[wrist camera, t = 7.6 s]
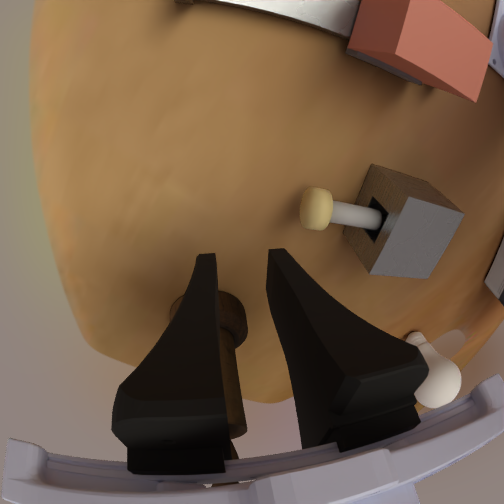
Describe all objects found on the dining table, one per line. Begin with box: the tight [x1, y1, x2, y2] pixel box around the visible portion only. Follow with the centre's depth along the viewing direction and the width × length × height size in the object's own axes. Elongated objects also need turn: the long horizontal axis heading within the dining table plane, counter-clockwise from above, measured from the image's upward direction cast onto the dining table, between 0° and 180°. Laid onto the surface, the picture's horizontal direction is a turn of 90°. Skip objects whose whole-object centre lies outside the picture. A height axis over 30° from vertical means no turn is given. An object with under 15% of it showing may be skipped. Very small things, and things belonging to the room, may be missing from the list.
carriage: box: [346, 0, 493, 103], centre depth 13 cm, size 6×4×6 cm
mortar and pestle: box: [170, 291, 248, 487], centre depth 20 cm, size 7×6×18 cm
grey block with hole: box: [343, 164, 465, 279], centre depth 21 cm, size 6×6×5 cm
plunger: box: [300, 186, 382, 231], centre depth 20 cm, size 5×3×3 cm, turn 76°
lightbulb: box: [405, 332, 461, 408], centre depth 32 cm, size 6×6×11 cm
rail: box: [174, 0, 361, 41], centre depth 13 cm, size 18×3×3 cm, turn 76°
